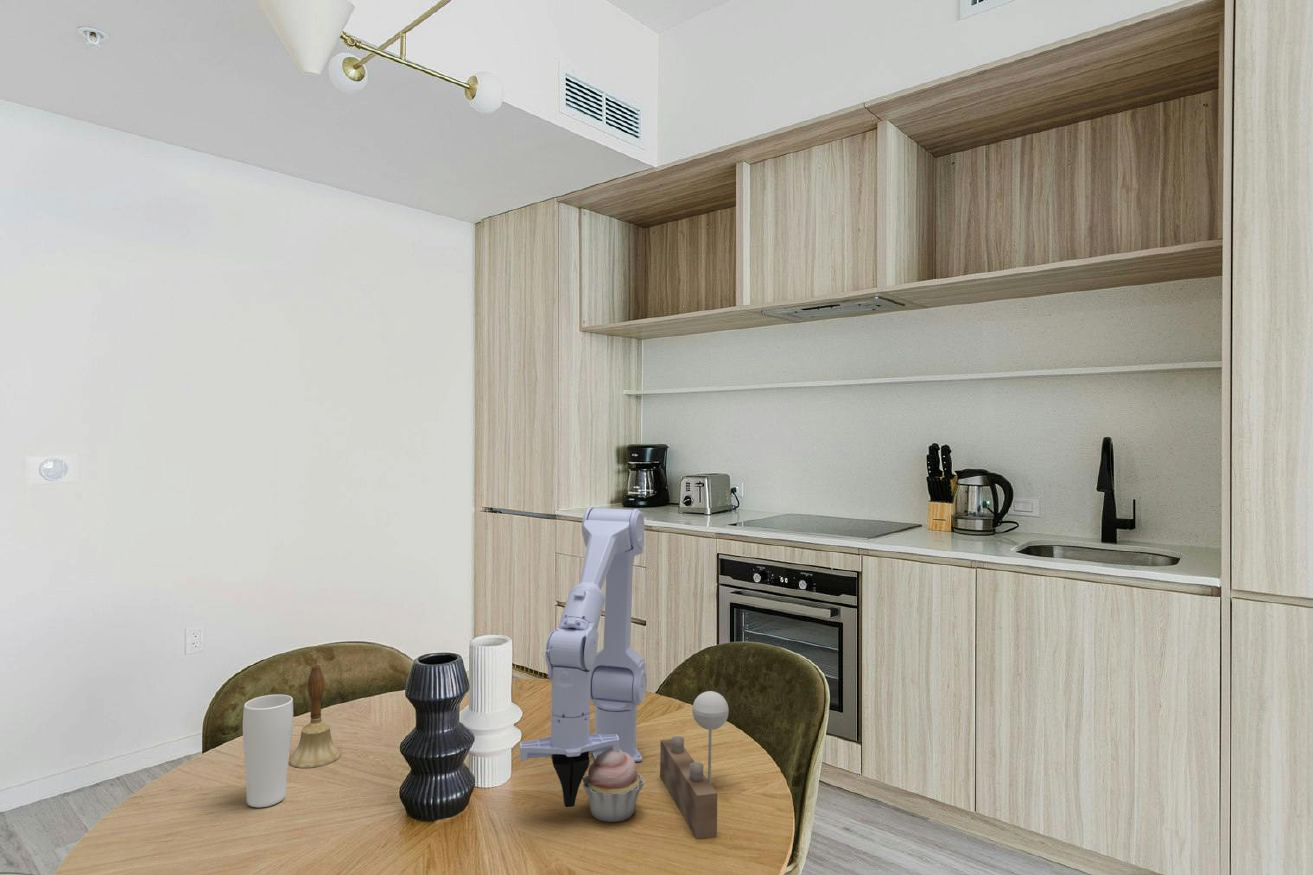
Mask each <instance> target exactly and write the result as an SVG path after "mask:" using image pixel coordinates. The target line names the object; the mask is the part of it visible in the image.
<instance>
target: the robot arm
mask: <svg viewBox="0 0 1313 875" xmlns="http://www.w3.org/2000/svg"><path fill="white" fill-rule="evenodd" d="M581 520H582V521H581V534H582V538H583V542H584V546H585V548H586V550H585V554H584V560H583V566H582V570H581V574H580V579H579V583H578V584H575V585H574V586H572V587H571V588H570V590H569V593H568V596H567V599H566V602H565V606H564V608H563V612H562V615H561V618H560V620H559V623H558V627H557V628H556V629H555V630H552V631H551V632H550V633H549V635H548V637H547V640H546V643H545V644H546V645H545V651H544V657H545V664H546V666H547V677H548V680H550V681H551V692H550V693H551V700H550V736H547V737H543V738H539V739H535V740H529V741H522V742H519V760H520V762H524V761H528V760H529V759H536V758H548V757H551V762H552V766H553V767H554V770H555V772H556V774H557V777H558V779H559V783H560V785H561V790H562V791H561V792H562V796H563V797H562V798H563V804H564V807H565V808H571V807H573V808H574V807H575V806H576V800H577V796H578V791H579V789H580V785H581V783H582V781H583V780H582V778H583V777H585V774H586V772H587V770H589V767H590V761H591V758H590V756H589V754H592V755H593V758H594V760H595V759H596V756H598V755H599V754H601V753H602V752H606V751H607V750H608V749H610V748H612V751H614V752H619V749H620V750H621V751H622V752H625V753H627V754H629V755H630V756H631V757H632V758H633V759H634V761H635V763H636V762H637V763H638V762H642V761H643V757H642V755H641V753H640V751H639V749H638V748H637V719H638V718H637V716H638V715H637V713H638V712H637V709H638V708H637V707H638V706H639V705H641V704H642V703H643V702H644V699H645V697H646V693H647V686H648V685H647V684H648V679H647V672H646V671H647V670H646V662H645V659H644V658H643V656H642V655H640V654H639V653H637V652H636V651H635V650H634V649H633V648H632V647H631V641H632V640H631V639H632V638H631V637H632V629H631V628H632V606H633V605H632V603H633V577H634V575H633V572H634V570H633V569H634V561H635V557H637V556H639V555H641V554H643V551H644V547H645V520H644V515H643V513H642V512H641V510H640V509H638V508H634V509H629V508H628V509H626V508H624V509H623V508H598V507H593V506H592V507H588V508H587V509H586V511H585V512H584V513H583V515H582V519H581ZM604 583H605V595H604V593H603V592H602V588H603V585H604ZM603 610H604V619H603V620H604V622H603V623H604V624H603V625H604V626H603V648H602V649H601V650H599V651H598V641H599V631H598V627H599V624H600V621H601V616H602V613H603ZM591 701H592V707H595V709H594V722H593V723H594V731H593V732H594V733H590V732H591V731H590V728H591V725H590V724H591V721H590V720H591V719H590V717H591Z"/></svg>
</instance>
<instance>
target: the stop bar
mask: <svg viewBox="0 0 1313 875" xmlns="http://www.w3.org/2000/svg"><path fill="white" fill-rule="evenodd" d="M659 747H660V751H659V753H660V754H659V757H660V758H659V761H660V762H659V777H660V778H661V781H662V783H663V784H664V786H665V787H666V790H667V791H668V793H669V795H670V796H671V799H673V801H674V803H675V804H676V806H677V808H678V810H679V812H680V814H681V815H682V817H683V818H684V820H685V822H686V823H687V825H688V827H689V829H690V830H691V832H692V834H693V836H694V837H695V839H696V840H698V839H699V840H700V839H705V838H706V839H707V838H714V837H718V832H717V831H718V792H717V791H716V790H715V788H714V787H713V785H712V783H711V784H710V782H709V781H708V777H706V775H705V774H704V763H702V762H700V761H695V760H694V759H693V757H692V756H691V754H690V753H689V751H688V750H687V749H686V747H685V738H684V737H683V736H680V735H677V736H672V737H671V738H670V739H669V738H668V739H660V746H659Z"/></svg>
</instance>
